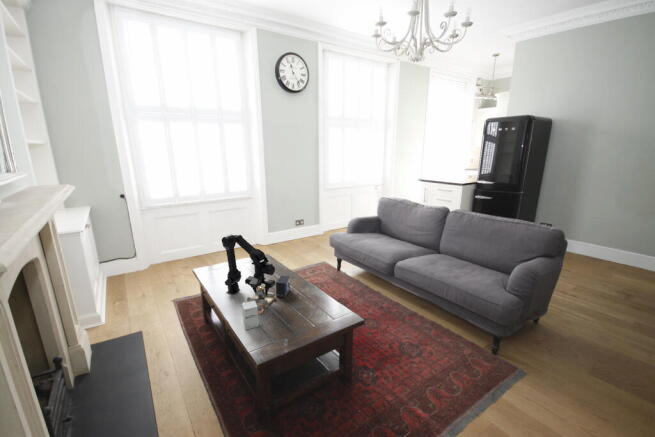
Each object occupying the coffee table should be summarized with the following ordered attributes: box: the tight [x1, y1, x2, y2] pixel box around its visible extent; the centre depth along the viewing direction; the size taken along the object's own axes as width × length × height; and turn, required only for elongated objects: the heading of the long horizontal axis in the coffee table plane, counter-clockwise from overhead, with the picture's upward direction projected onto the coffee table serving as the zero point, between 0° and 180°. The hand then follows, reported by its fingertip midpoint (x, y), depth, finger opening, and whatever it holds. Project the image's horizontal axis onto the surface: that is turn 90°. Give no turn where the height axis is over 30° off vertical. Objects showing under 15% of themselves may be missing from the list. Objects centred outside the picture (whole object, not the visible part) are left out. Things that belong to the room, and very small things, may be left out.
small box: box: [275, 275, 291, 298], centre depth 198 cm, size 11×6×10 cm, turn 168°
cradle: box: [246, 291, 277, 308], centre depth 190 cm, size 14×12×4 cm
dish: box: [257, 306, 265, 316], centre depth 178 cm, size 8×8×4 cm
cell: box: [257, 285, 265, 300], centre depth 189 cm, size 4×4×8 cm
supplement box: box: [241, 301, 259, 331], centre depth 164 cm, size 7×7×13 cm
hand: (260, 294), depth 189 cm, fingers open, 7 cm apart
